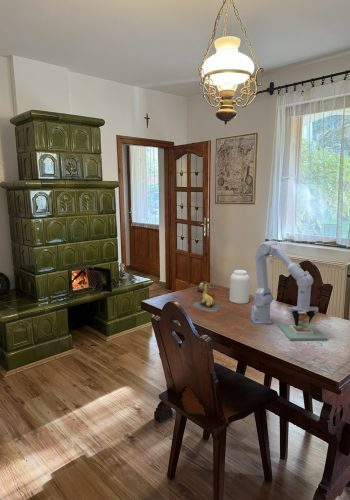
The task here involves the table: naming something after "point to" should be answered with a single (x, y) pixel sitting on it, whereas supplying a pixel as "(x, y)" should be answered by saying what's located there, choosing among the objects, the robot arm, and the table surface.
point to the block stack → (303, 322)
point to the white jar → (239, 287)
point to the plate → (302, 333)
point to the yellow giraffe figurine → (206, 299)
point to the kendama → (207, 292)
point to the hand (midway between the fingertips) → (301, 325)
